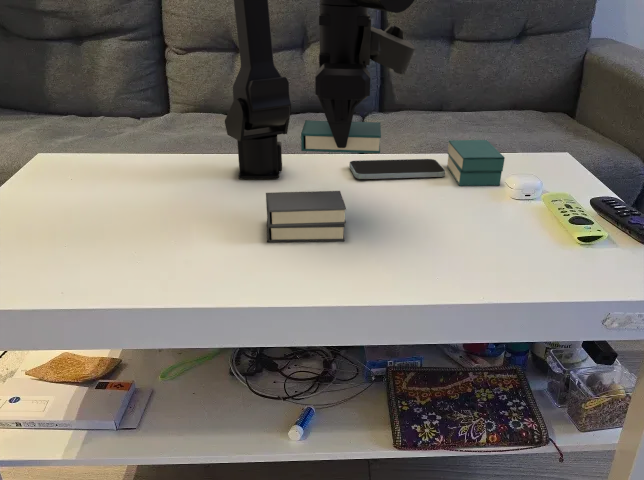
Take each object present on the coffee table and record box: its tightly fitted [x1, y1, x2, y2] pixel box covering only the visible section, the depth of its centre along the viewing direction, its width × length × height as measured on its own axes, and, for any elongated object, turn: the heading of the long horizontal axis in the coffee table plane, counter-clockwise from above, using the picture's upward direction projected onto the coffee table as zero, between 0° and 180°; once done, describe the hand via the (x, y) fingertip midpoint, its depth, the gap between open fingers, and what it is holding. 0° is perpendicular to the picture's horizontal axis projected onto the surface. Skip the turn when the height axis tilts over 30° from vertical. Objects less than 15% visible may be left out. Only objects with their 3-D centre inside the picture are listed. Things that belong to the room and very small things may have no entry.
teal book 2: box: [447, 139, 506, 172], centre depth 108 cm, size 10×6×2 cm, turn 6°
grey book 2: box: [266, 220, 346, 243], centre depth 89 cm, size 10×6×2 cm, turn 94°
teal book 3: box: [446, 154, 503, 187], centre depth 109 cm, size 10×6×2 cm, turn 4°
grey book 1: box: [265, 190, 347, 227], centre depth 87 cm, size 10×6×2 cm, turn 97°
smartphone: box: [348, 158, 446, 180], centre depth 110 cm, size 7×1×15 cm
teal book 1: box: [300, 119, 382, 154], centre depth 87 cm, size 10×6×2 cm, turn 88°
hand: (341, 140), depth 87 cm, fingers closed on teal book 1, 6 cm apart
